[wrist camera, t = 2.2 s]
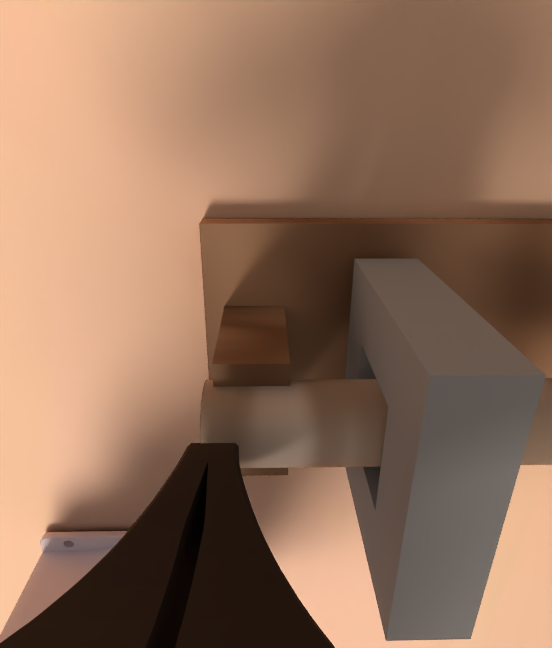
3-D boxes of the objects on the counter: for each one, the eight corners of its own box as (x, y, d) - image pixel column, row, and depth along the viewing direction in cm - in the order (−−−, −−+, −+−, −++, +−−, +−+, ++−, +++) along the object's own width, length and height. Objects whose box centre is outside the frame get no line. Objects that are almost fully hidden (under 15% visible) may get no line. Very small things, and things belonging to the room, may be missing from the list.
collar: (339, 442, 21) (386, 640, 13) (354, 258, 17) (429, 375, 9) (392, 442, 21) (470, 638, 13) (417, 258, 17) (545, 375, 9)
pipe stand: (216, 443, 22) (194, 583, 16) (202, 218, 18) (165, 278, 11) (694, 439, 23) (873, 572, 16) (798, 219, 18) (1105, 276, 12)
